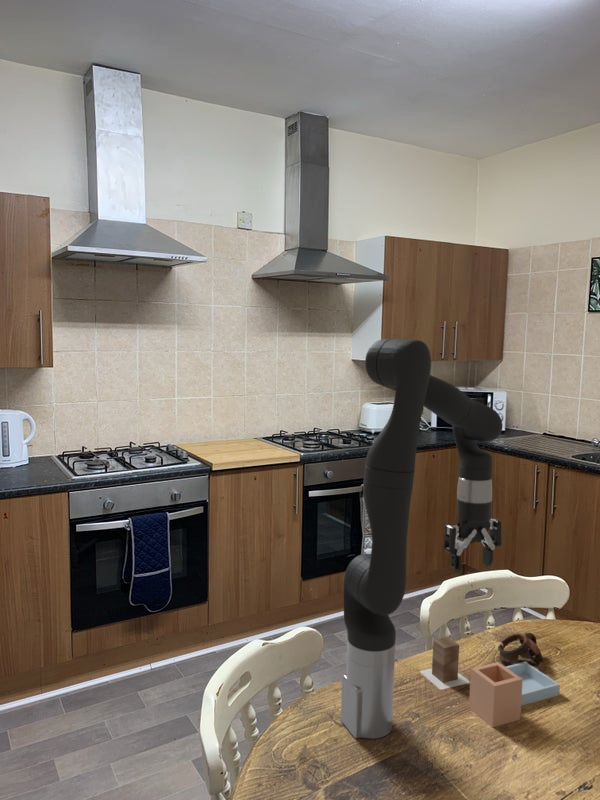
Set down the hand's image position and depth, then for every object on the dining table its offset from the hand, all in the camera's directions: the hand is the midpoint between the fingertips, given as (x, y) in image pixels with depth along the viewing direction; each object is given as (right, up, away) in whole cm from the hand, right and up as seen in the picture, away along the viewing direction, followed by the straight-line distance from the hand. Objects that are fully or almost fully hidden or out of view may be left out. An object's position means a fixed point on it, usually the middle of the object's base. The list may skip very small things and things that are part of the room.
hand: (471, 567), depth 138 cm
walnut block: (-6, -24, -2) cm, 25 cm away
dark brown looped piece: (+14, -25, +6) cm, 29 cm away
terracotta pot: (0, -26, -15) cm, 30 cm away
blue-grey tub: (+8, -25, -6) cm, 27 cm away
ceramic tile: (-7, -25, -1) cm, 25 cm away
